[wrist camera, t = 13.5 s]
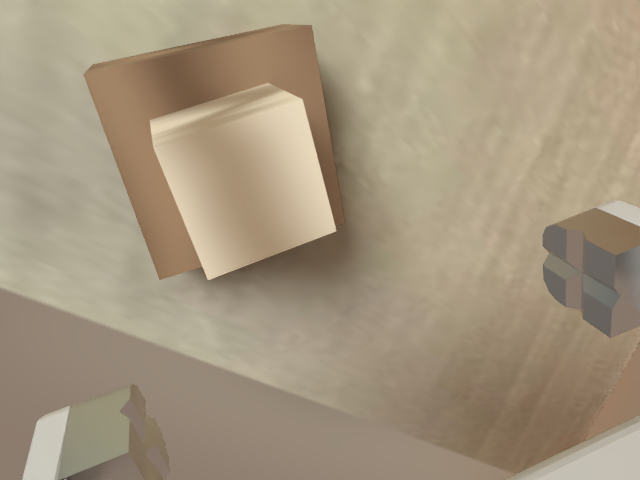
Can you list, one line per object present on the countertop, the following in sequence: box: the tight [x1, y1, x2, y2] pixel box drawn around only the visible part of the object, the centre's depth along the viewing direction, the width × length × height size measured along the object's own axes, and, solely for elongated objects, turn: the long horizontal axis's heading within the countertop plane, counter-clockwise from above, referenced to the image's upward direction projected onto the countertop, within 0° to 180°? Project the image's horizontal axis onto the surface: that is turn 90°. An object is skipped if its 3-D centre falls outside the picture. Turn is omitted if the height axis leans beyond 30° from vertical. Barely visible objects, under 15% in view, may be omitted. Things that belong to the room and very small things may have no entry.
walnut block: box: [84, 24, 345, 280], centre depth 24 cm, size 9×9×5 cm
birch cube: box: [150, 83, 336, 280], centre depth 20 cm, size 5×5×5 cm
